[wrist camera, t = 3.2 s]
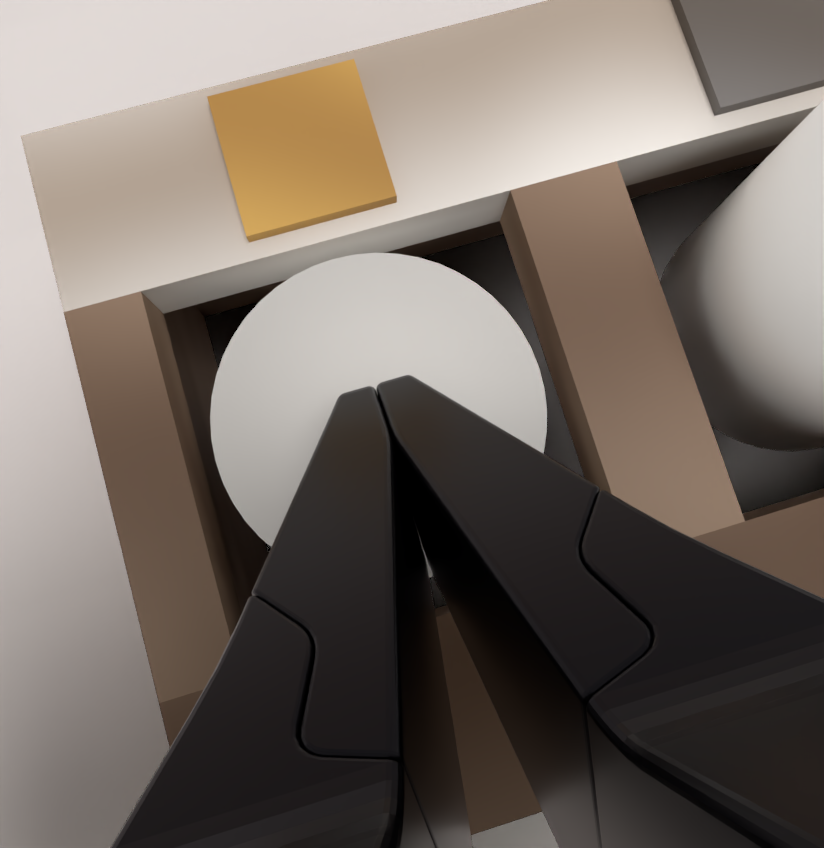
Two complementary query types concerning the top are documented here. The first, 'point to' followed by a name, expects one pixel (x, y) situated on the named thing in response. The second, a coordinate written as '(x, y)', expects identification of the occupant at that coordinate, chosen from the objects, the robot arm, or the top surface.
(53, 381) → the top surface
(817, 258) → the middle button
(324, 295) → the button
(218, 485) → the brown compartment box
